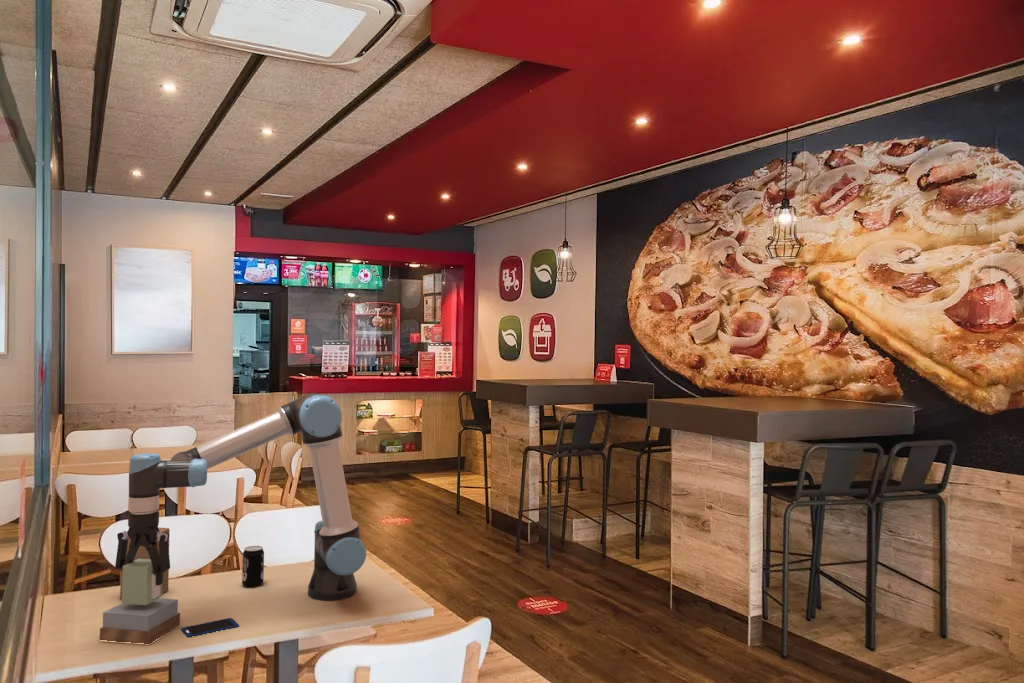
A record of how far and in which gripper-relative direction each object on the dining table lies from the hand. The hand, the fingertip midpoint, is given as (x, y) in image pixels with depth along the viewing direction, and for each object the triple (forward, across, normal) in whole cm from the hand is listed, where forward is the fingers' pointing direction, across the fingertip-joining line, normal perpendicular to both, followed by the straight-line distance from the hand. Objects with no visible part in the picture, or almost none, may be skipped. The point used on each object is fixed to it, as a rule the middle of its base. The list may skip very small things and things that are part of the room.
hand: (142, 595), depth 202 cm
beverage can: (+10, -11, -43) cm, 46 cm away
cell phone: (+11, -16, -6) cm, 20 cm away
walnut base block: (+11, 0, 0) cm, 11 cm away
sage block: (+1, 0, 0) cm, 1 cm away
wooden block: (+10, +17, -28) cm, 34 cm away
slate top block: (+7, 0, 0) cm, 7 cm away
